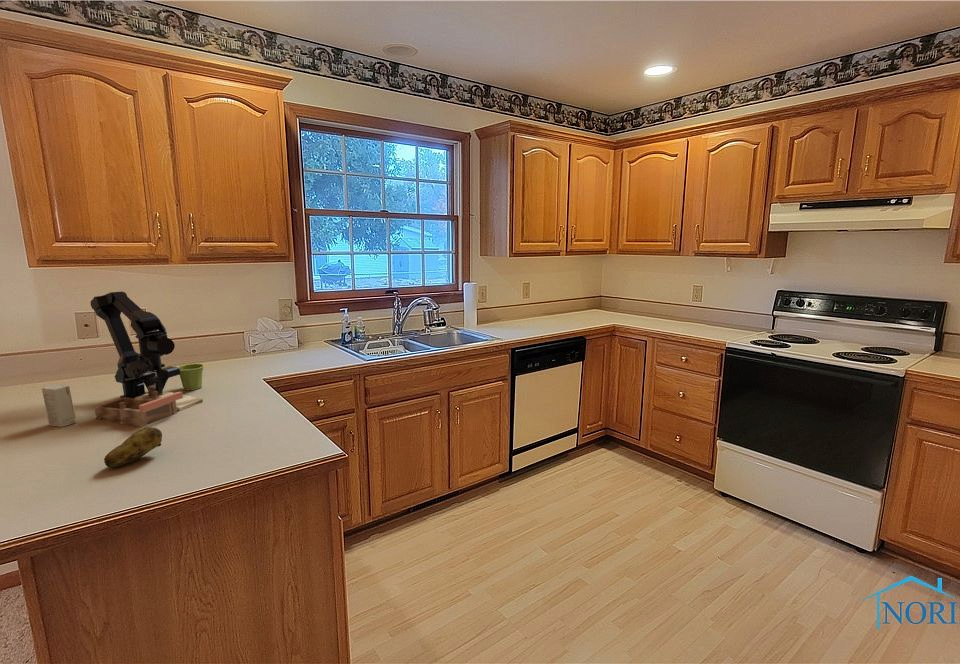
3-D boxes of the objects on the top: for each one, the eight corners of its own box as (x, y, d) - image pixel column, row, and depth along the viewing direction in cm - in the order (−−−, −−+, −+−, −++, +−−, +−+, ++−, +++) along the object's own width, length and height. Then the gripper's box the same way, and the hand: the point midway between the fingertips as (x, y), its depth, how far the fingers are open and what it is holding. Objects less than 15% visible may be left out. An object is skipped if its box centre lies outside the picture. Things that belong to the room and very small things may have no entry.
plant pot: (181, 393, 178) (178, 371, 177) (176, 387, 185) (173, 366, 184) (208, 388, 184) (206, 367, 183) (203, 383, 191) (201, 362, 190)
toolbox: (92, 420, 152) (89, 399, 151) (129, 407, 164) (127, 387, 162) (142, 426, 147) (139, 405, 145) (177, 413, 158) (174, 393, 157)
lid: (135, 400, 165) (134, 388, 165) (158, 392, 174) (158, 380, 173) (180, 410, 161) (179, 398, 160) (202, 401, 169) (202, 389, 168)
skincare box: (77, 422, 150) (70, 385, 148) (61, 427, 146) (54, 389, 144) (63, 420, 152) (57, 383, 150) (47, 425, 148) (40, 387, 146)
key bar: (139, 411, 145) (138, 405, 144) (179, 397, 158) (178, 391, 158) (143, 412, 144) (142, 406, 144) (182, 397, 158) (182, 392, 157)
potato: (104, 462, 123) (99, 433, 122) (162, 448, 132) (158, 421, 130) (106, 474, 117) (101, 443, 116) (167, 458, 126) (163, 430, 124)
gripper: (106, 354, 160) (113, 398, 163) (149, 358, 156) (155, 403, 159) (137, 347, 171) (143, 389, 174) (179, 351, 166) (184, 393, 169)
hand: (155, 394), depth 169 cm, fingers closed on lid, 3 cm apart
